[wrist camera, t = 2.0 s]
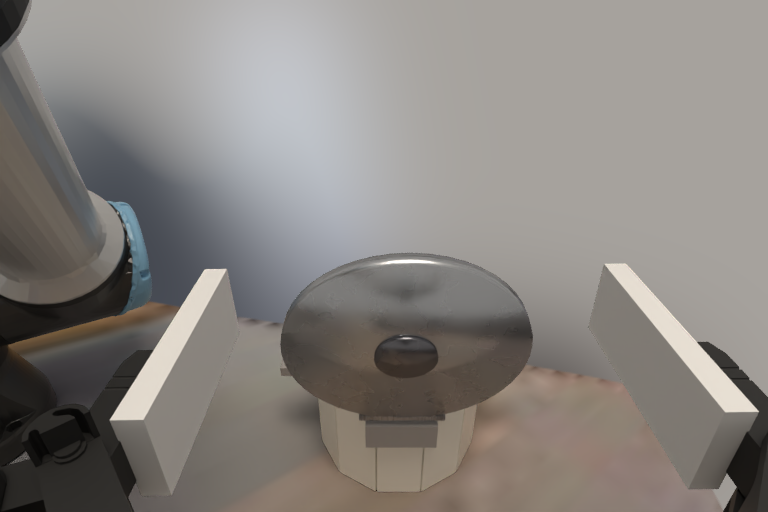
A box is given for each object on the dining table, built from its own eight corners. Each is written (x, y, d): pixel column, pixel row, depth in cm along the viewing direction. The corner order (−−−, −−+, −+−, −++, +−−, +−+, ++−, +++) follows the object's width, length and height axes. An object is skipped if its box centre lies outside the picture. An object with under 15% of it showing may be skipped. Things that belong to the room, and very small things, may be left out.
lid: (503, 410, 40) (507, 427, 39) (299, 409, 40) (296, 426, 39) (556, 252, 28) (564, 270, 27) (264, 251, 28) (259, 268, 27)
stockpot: (521, 504, 45) (542, 425, 39) (275, 503, 44) (260, 425, 39) (487, 371, 59) (499, 300, 54) (302, 371, 59) (293, 299, 53)
